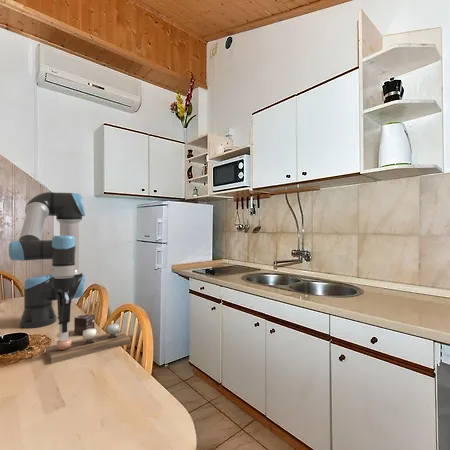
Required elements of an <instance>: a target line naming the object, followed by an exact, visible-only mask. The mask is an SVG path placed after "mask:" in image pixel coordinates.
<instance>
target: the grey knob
mask: <svg viewBox="0 0 450 450" xmlns="http://www.w3.org/2000/svg"><path fill="white" fill-rule="evenodd" d="M119 331H120V324H118V323H111V324H107V325H106V333H108V334H110V337H115V333H117V332H119Z"/></svg>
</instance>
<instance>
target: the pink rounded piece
mask: <svg viewBox="0 0 450 450" xmlns="http://www.w3.org/2000/svg"><path fill="white" fill-rule="evenodd" d="M71 341H72V339H71V338H69V337H68V340H66V341H61V342H60V341H59V339H58V340H57V341H56V345H57V350H61V351H62V350H66V349H68V348H70V347H71Z"/></svg>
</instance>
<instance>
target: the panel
mask: <svg viewBox="0 0 450 450" xmlns="http://www.w3.org/2000/svg"><path fill="white" fill-rule="evenodd" d="M119 331H120V332H117V333H115V337H110V334H108V333H107V332H106V333H103V334H98V335H97V334H96V337H95V338H92V342H91V343H87V339H83V338H81V339H76V340H71V347H70V348H68V349H66V350H62V351H61V350H57V344H53V345H50V346H46V347H45V354H46V355H47V358H48V359H49V362H50V363H51V364H55V363H59V362H64V361H67V360H71V359H74V358H79V357H82V356H87V355H90V354H94V353H98V352H101V351H106V350H110V349H113V348H118V347H122V346H125V345H129V344H131V337H130V336H128V335H127V334H125V333H124V332H123V331H121V330H119Z"/></svg>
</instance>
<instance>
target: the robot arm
mask: <svg viewBox="0 0 450 450" xmlns="http://www.w3.org/2000/svg"><path fill="white" fill-rule="evenodd" d="M24 213H25V218H24V221H23V224H22V228H21V231H20V234H19V238H18V239H17V240H12V241H10V242H9V243H8V256H9V259H10V260H11V261H21V262H24V261H37V260H39V261H40V260H41V261H42V260H52V261H51V263H52V264H51V267H52V268H51V269H50V270H49V271H50V272H51V273H47V274H39V275H35V276H31V277H28V278H27V279H25V281H24V285H23V286H24V287H23V292H24V293H23V294H24V295H23V296H24V297H23V298H24V299H23V300H24V302H23V304H24V305H23V307H24V308H23V311H22V315H21V318H20V320H19V326H20V327H21V328H25V329H34V328H40V327H45V326H46V327H47V326H49V325H52V324H54V323H56V321H57V319H58V326H59V332H58V333H59V336H58V337H59V338H58V340H59V341H60V342H61V341H66V340H68V338H69V323H70V322H71V306H72V305H71V304H72V300H73V299H80V298H81V297H83V294H84V289H85V284H86V282H85V281H86V275H85V274H83V271H82V270H81V269H80V229H79V228H80V222H81V221H83V217H85V216H86V213H85V207H84V198H83V196H82V194H81V193H77V192H74V193H73V192H54V191H53V192H52V191H47V192H42V193H39V194H37V195H35V196H33V197H32V198H31V199H29V201H28V202H27V204H26V205H25V208H24ZM50 216H51V217H56V218H55V219H56V221H57V222H58V223H59V235H53V236H52V239H48V240H47V239H46V240H44V239H43V240H42V237H43V235H44V234H43V232H44V227H45V221H46V218H48V217H50ZM53 301H57V315H56V312H55V310H54V307H53Z"/></svg>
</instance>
